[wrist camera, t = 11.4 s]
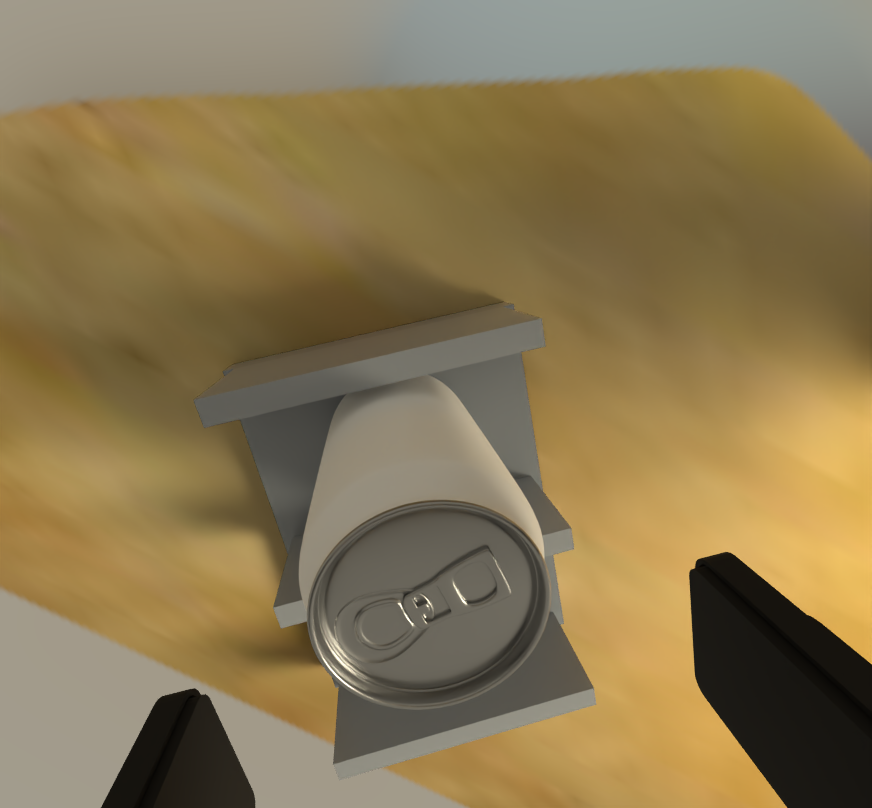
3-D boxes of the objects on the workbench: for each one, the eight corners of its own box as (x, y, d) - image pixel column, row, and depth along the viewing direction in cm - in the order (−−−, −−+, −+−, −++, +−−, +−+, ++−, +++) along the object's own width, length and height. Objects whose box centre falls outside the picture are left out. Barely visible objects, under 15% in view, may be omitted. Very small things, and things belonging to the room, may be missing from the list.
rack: (504, 301, 23) (555, 315, 16) (554, 605, 28) (606, 701, 22) (232, 364, 22) (177, 403, 16) (337, 665, 27) (328, 783, 21)
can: (303, 406, 21) (226, 569, 10) (433, 342, 21) (509, 432, 10) (369, 519, 23) (370, 764, 12) (488, 461, 23) (605, 650, 12)
